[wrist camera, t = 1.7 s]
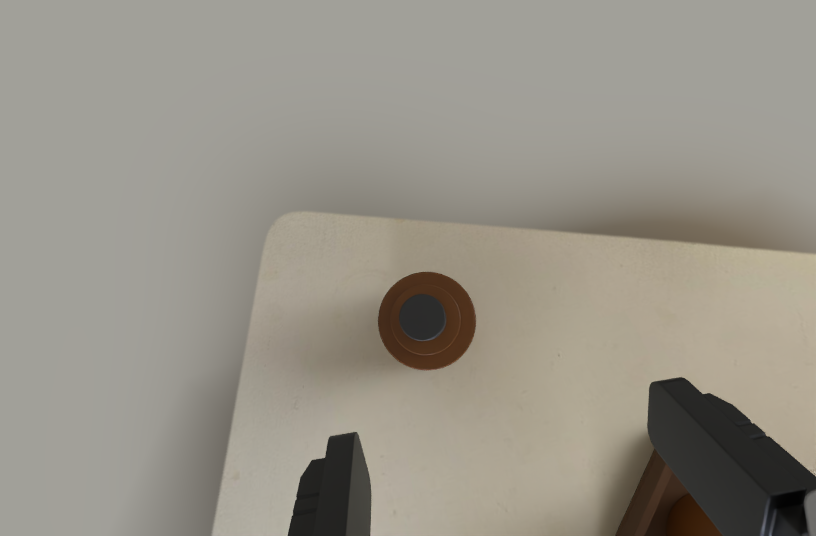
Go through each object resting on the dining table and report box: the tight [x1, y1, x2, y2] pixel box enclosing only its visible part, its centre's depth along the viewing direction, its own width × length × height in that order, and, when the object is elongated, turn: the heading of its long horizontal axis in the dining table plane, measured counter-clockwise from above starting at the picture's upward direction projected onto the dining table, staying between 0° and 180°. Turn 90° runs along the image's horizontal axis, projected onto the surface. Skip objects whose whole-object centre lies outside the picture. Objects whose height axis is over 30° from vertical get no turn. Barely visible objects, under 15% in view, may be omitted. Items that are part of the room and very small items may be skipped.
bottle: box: [378, 272, 476, 370], centre depth 28 cm, size 6×6×12 cm
